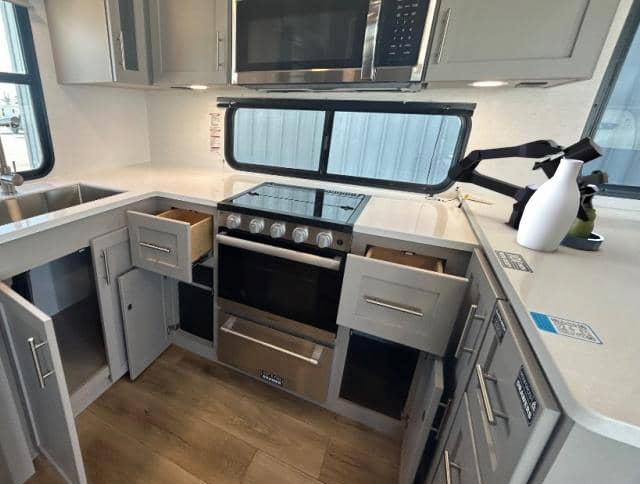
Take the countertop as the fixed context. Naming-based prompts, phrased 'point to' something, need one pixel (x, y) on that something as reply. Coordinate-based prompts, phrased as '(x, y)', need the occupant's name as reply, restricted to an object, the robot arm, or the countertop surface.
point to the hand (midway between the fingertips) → (590, 220)
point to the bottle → (551, 209)
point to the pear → (583, 225)
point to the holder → (583, 242)
